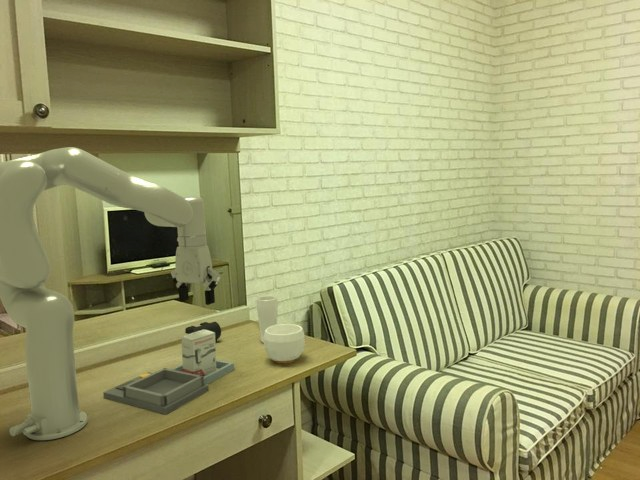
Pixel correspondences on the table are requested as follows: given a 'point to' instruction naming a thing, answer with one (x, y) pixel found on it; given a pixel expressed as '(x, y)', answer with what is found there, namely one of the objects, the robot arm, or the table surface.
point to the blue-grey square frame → (224, 369)
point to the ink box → (199, 352)
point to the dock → (159, 390)
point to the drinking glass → (266, 313)
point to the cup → (284, 342)
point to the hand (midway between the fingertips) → (197, 302)
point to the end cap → (206, 328)
